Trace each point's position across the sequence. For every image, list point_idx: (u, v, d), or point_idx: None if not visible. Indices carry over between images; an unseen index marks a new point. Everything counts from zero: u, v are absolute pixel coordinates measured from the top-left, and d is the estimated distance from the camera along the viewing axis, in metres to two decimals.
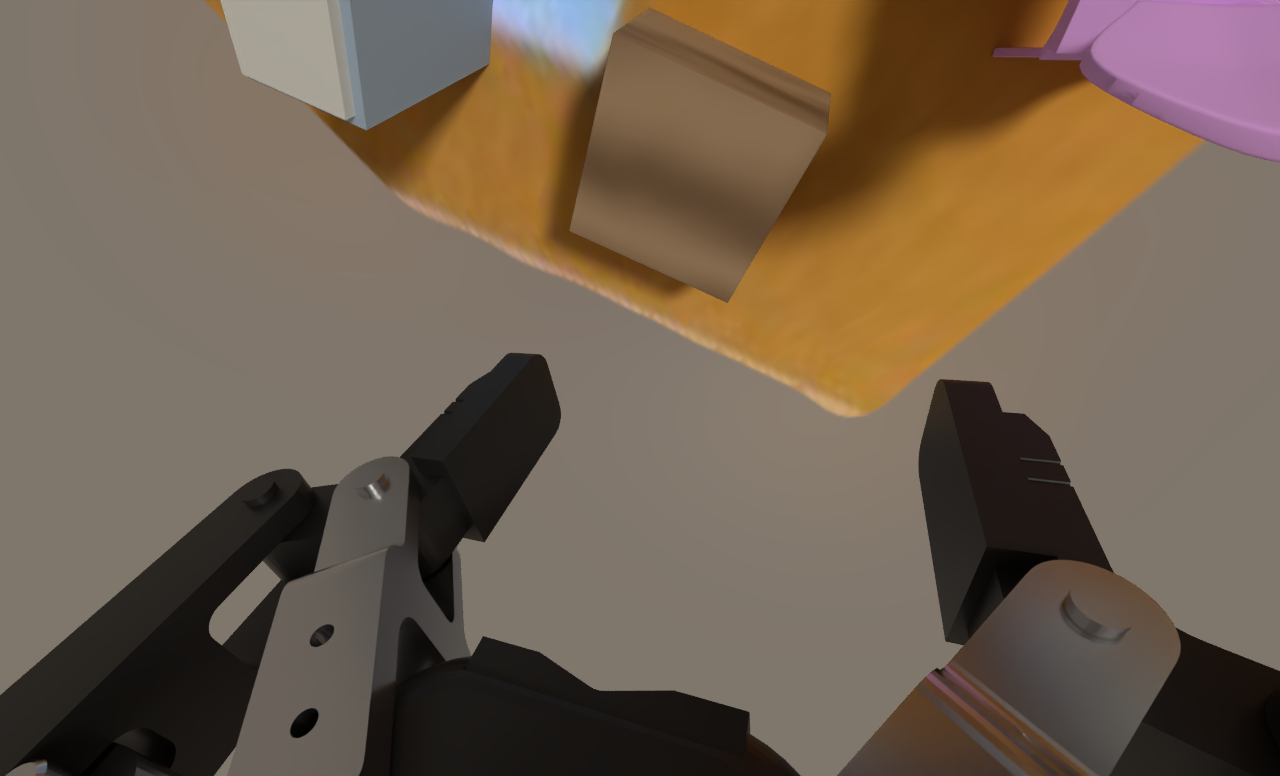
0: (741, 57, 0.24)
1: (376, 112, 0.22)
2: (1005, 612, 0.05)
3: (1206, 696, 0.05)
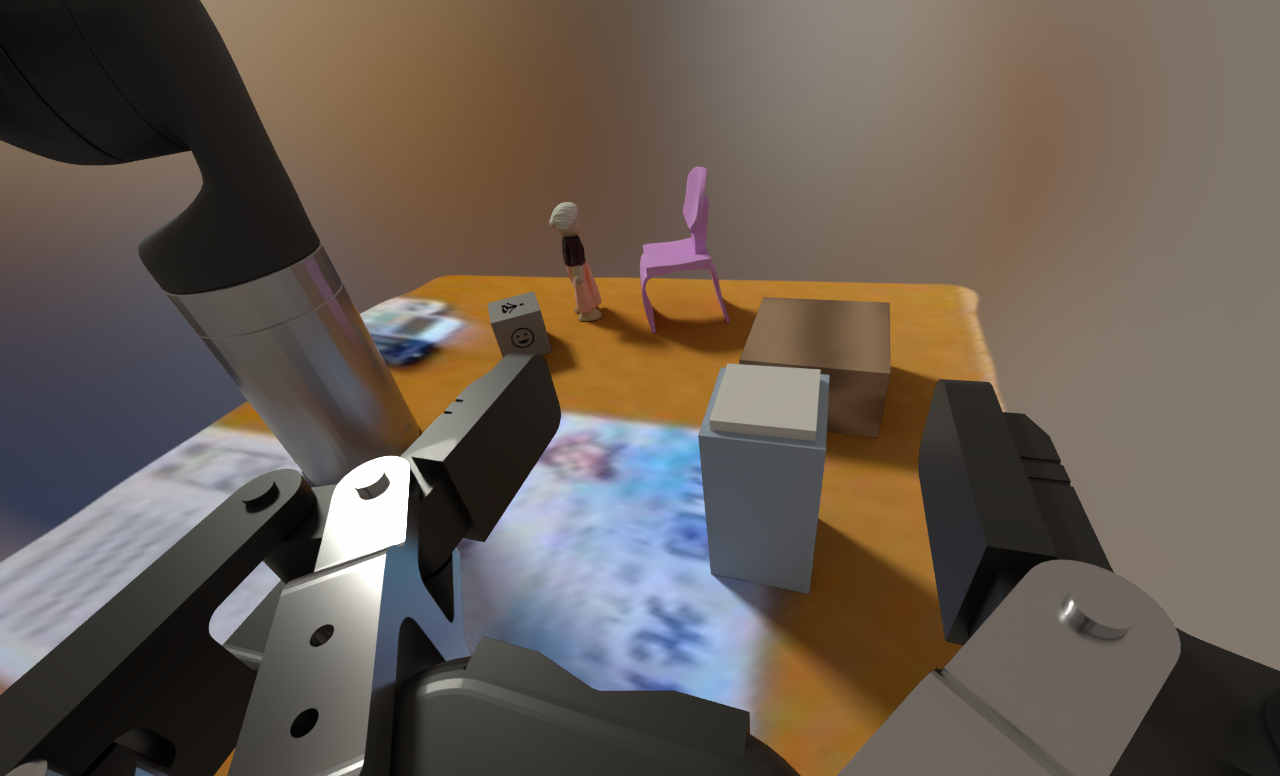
0: None
1: None
2: (1005, 612, 0.05)
3: (1206, 696, 0.05)
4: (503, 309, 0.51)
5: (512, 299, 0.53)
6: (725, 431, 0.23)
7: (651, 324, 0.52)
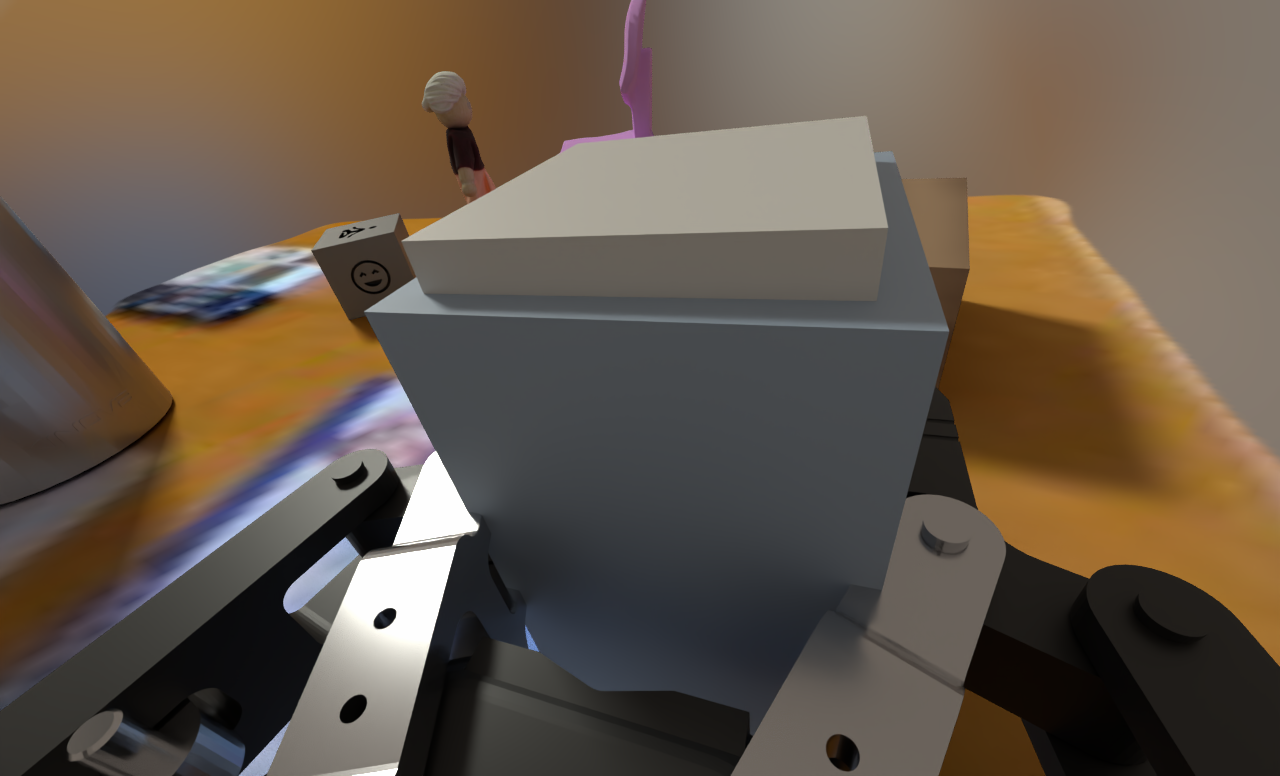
0: None
1: None
2: None
3: (1029, 599, 0.06)
4: (344, 235, 0.33)
5: (364, 223, 0.35)
6: (475, 295, 0.05)
7: None
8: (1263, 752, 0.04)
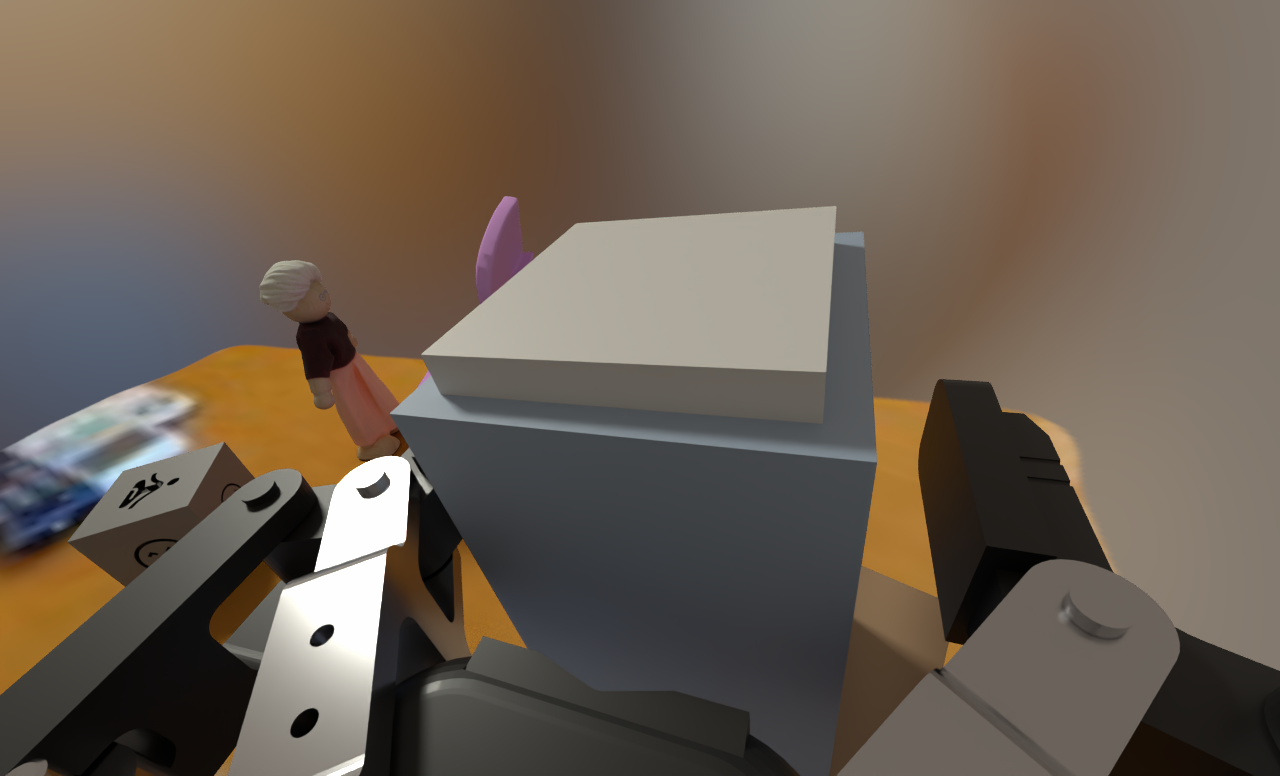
0: None
1: None
2: (1004, 612, 0.05)
3: (1205, 696, 0.05)
4: None
5: (171, 463, 0.27)
6: (485, 398, 0.06)
7: None
8: None
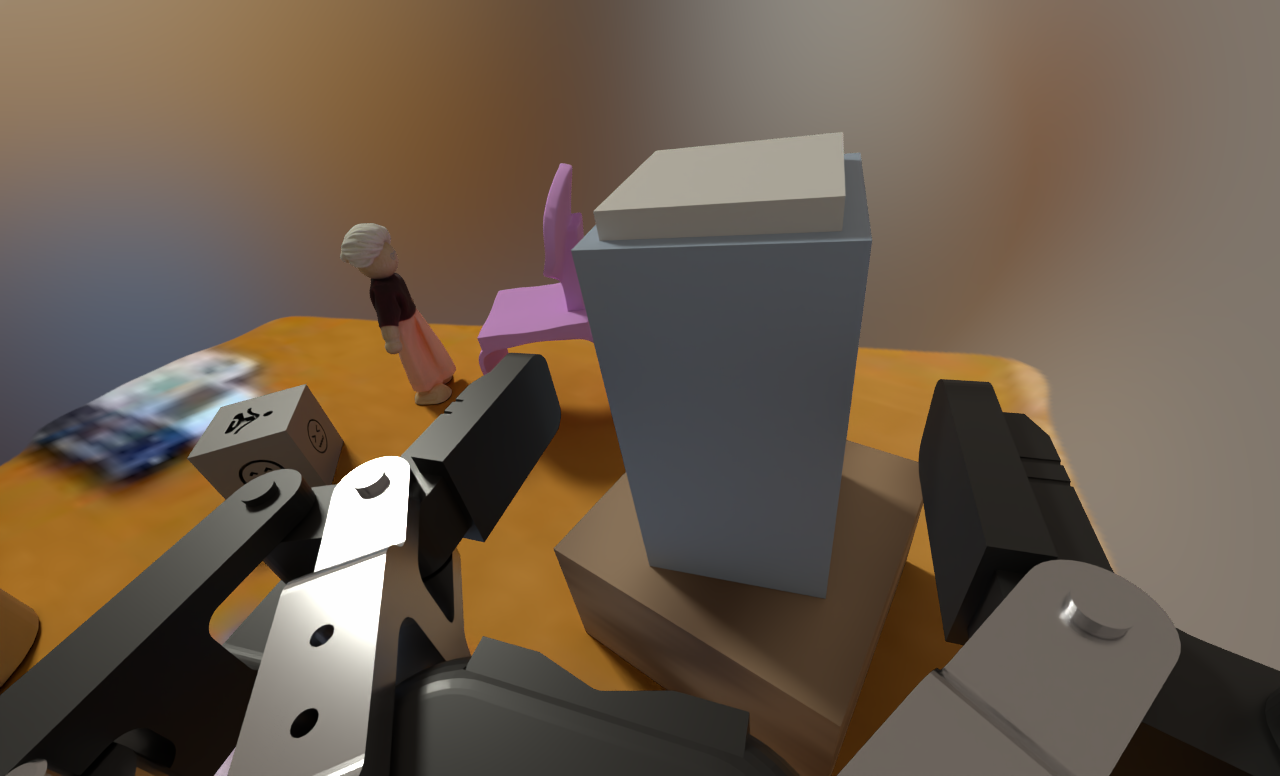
0: None
1: None
2: (1005, 612, 0.05)
3: (1206, 696, 0.05)
4: None
5: (262, 400, 0.31)
6: (631, 239, 0.10)
7: None
8: None
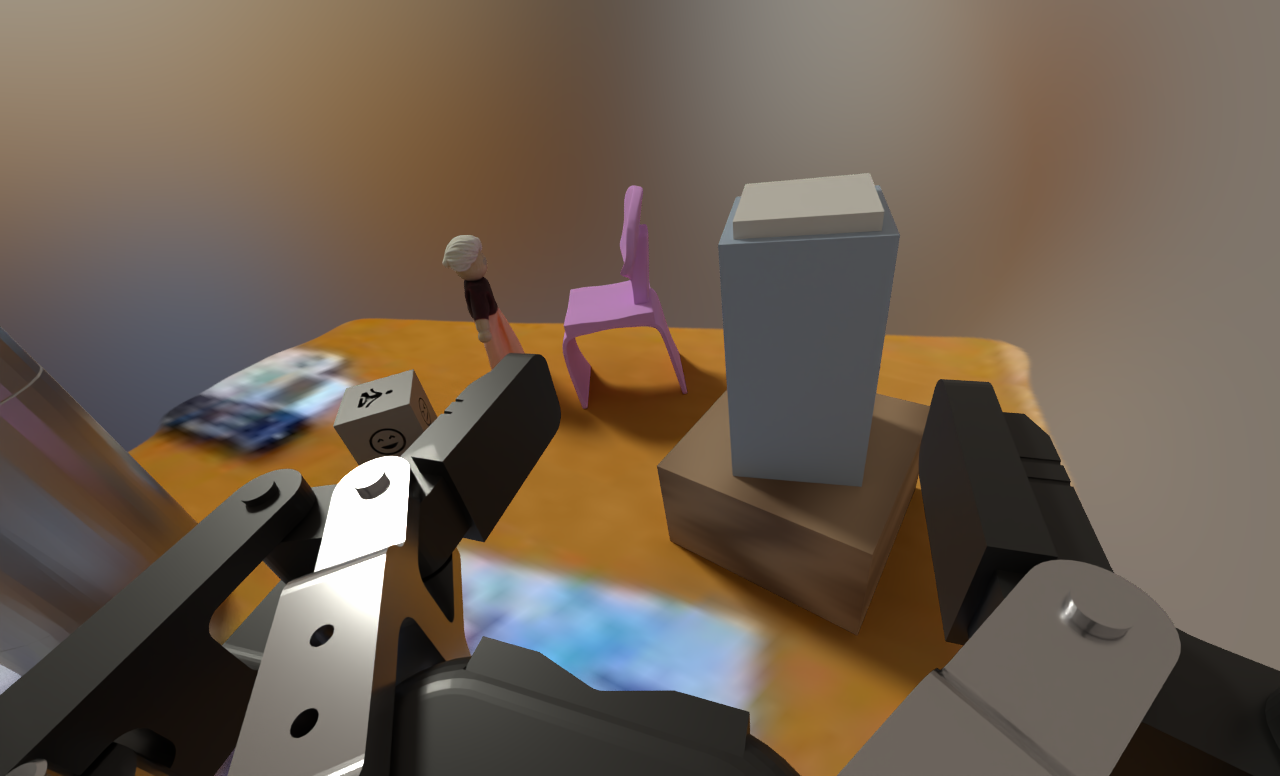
0: None
1: None
2: (1005, 612, 0.05)
3: (1205, 696, 0.05)
4: (362, 399, 0.36)
5: (380, 382, 0.37)
6: (754, 238, 0.17)
7: (581, 397, 0.39)
8: None
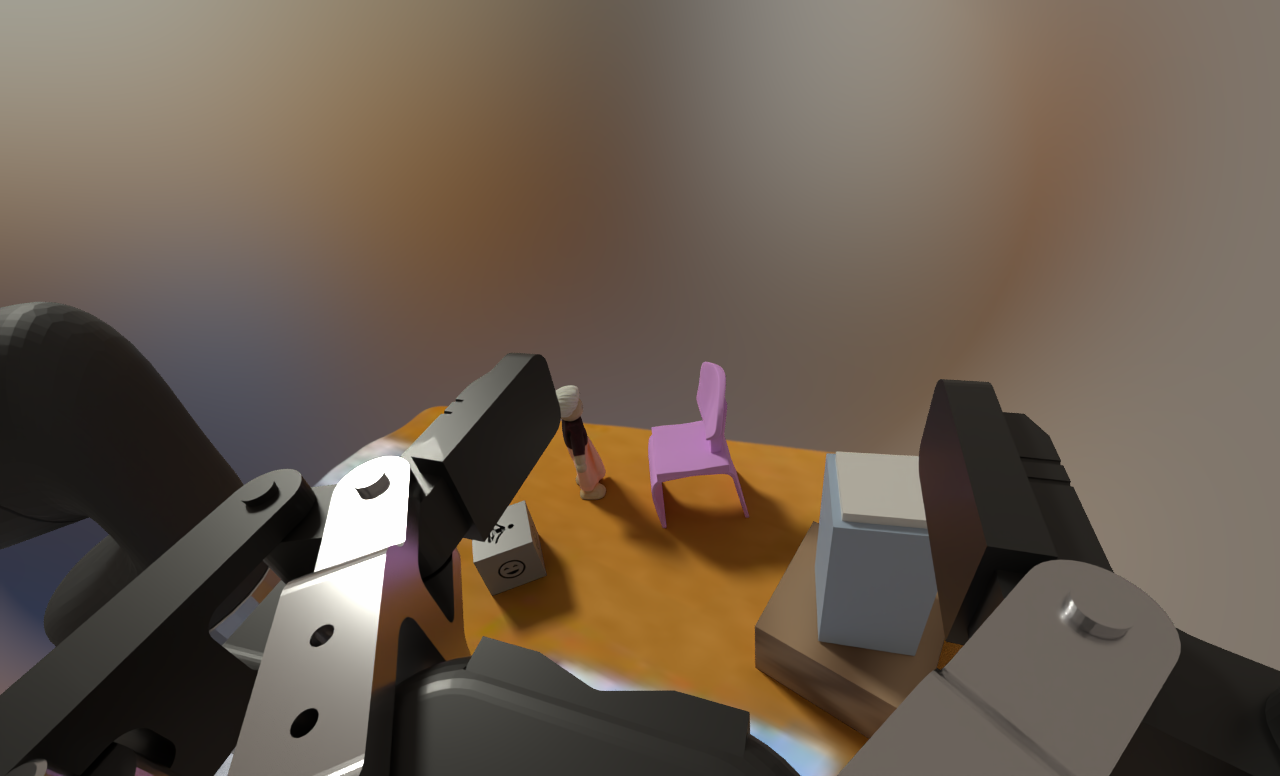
0: None
1: None
2: (1005, 612, 0.05)
3: (1206, 696, 0.05)
4: None
5: None
6: (856, 522, 0.25)
7: (661, 519, 0.47)
8: None
